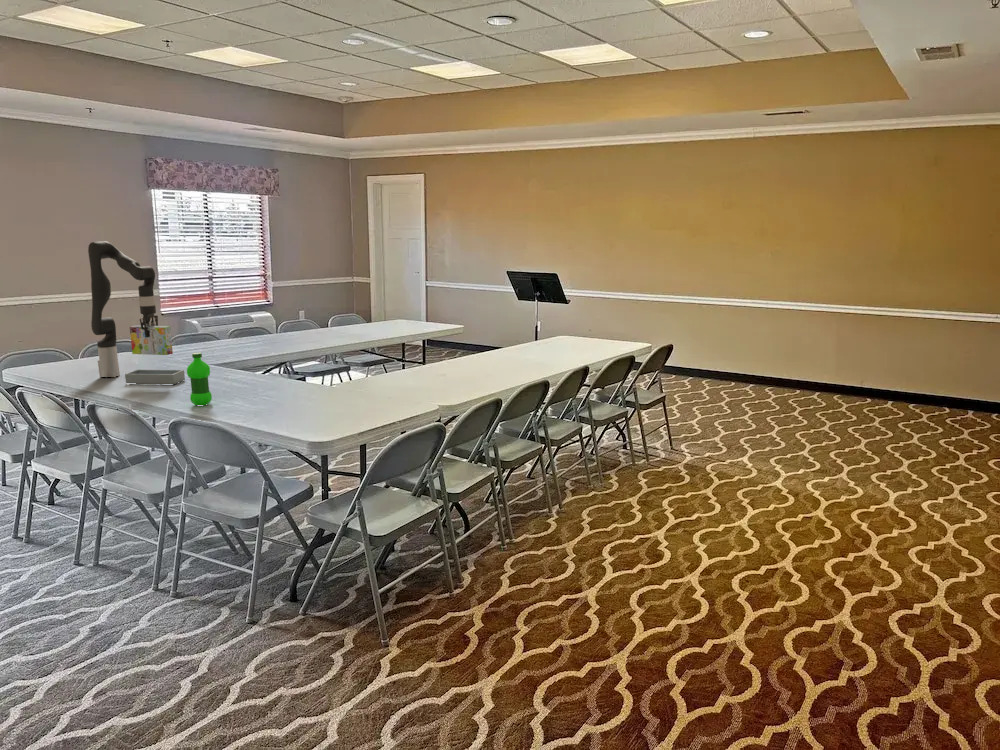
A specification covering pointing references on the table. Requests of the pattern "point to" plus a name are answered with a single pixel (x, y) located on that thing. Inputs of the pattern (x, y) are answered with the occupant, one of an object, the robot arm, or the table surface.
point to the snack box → (151, 340)
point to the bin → (155, 376)
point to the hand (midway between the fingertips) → (150, 336)
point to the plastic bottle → (199, 380)
